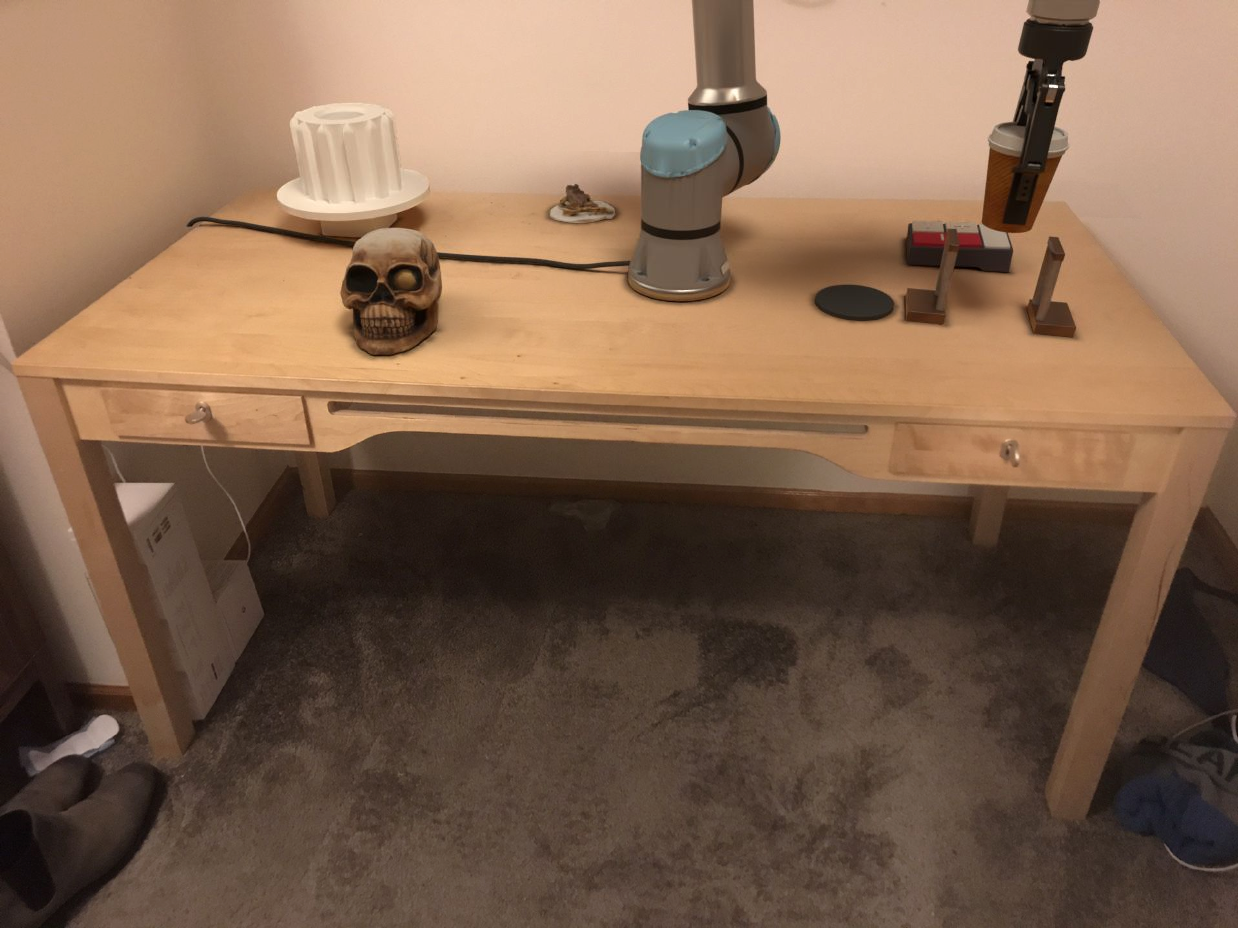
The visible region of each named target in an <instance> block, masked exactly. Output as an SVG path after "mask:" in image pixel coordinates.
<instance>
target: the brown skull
mask: <svg viewBox="0 0 1238 928" xmlns="http://www.w3.org/2000/svg"><path fill="white" fill-rule="evenodd" d="M355 242H356V243H355V245H354V247H353V248H352V254H351V259H350V261H349V263H348V265H347V266H346V269H345V273H344V277H343V279H342V281H341V282H342V283H341V287H340V292H339V293H340V298H341V303H342V305H343V306H344V308H345V309H347V310H352V333H353V337H354V339H355V342H356V345H357V346H358V347H359V348H360V349H362V350H364V351H366V352H367V353H368V354H369V355H373V356H389V355H394V354H398V353H403V352H406V351H409V350H411V349H413V348H414V347H416V346H417V345H419V344H420V343H421V342H422V341H423V340H424V339H426V338H428V337H429V336H430V334H431V333H434V332H435V331H436V330H437V326H438V322H439V310H438V309H439V308H438V301H439V300H440V299H441V296H442V293H443V290H442V289H443V281H442V279H443V278H442V271H441V264H440V257H438V254H437V252H438V251H437V249H436V247H435V244H434V243H433V241H432V240H431V239H430V238H429V237H427V236H426V235H425V234H423V233H422V232H420V231H417V230H415V229H412V228H404V227H389V228H382V229H378V230H375V231H372V232H370V233H368V234H366V235H364V236H363V237H362V238H359V239H358V240H357V241H355Z"/></svg>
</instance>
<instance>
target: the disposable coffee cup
mask: <svg viewBox="0 0 1238 928" xmlns="http://www.w3.org/2000/svg"><path fill="white" fill-rule="evenodd" d="M1025 128H1026V126H1017V122H1013V121H1007V122H1001V123H998V124H996V125H994V127H993V129H992V131H991V133H990V134H989V135H988V136H987V142H988V147H989V149H988V150H989V151H988V160H987V168H986V169H987V170H986V179H985V187H984V197H983V207H982V214H981V224H983V225H984V226H986V227H987V228H990V229H993V230H995V231H999V232H1005V233H1008V234H1022V233H1023V234H1024V233H1027V232H1030V231H1031V230H1032V229H1033V228H1034V224H1035V222H1036V220H1037V218H1038V215H1039V212H1040V210H1041V208H1042V205H1043V203H1044V201H1045V198H1046V196H1047V194H1048V191H1049V189H1050V187H1051V183H1052V181H1053V179H1054V176H1055V174H1056V172H1057V169H1058V167H1059V165H1060V162H1061V160H1062V158H1063V156H1064V155H1065V153H1066V151H1068V150H1069V148H1070V143H1069V139H1068V138H1069V133H1068V131H1066V130H1064V129H1063V128H1060V127H1057V126H1055V127H1054V131H1053V135H1052V140H1051V144H1050V148H1049V152H1048V156H1047V161H1046V165H1045V166H1046V168H1045V171H1044V173H1040V174H1039V176H1038V180H1037V184H1036V188H1035V191H1034V195H1033V199H1032V202H1031V206H1030V210H1029V213H1028V217H1027V221H1026V224H1025V225H1014V224H1003V223H1002V220H1003V216H1004V212H1005V208H1006V204H1007V200H1008V196H1009V192H1010V188H1011V184H1012V180H1013V176H1014V173H1013V172H1011V168H1012V167H1018V165H1019V161H1020V156H1021V152H1022V148H1023V143H1024V133H1025ZM1030 162H1037V161H1030Z"/></svg>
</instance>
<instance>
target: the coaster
mask: <svg viewBox="0 0 1238 928" xmlns="http://www.w3.org/2000/svg"><path fill="white" fill-rule="evenodd" d="M814 303H815V305H816V307H817V308H818V309H820V311H822V312H824V313H825V314H827V315H830V316H832V317H835V318H839V319H843V320H848V321H849V320H850V321H873V320H879V319H882V318H885V317H887V316H889V315H890V314H891V313H892V312H893V310H894V306H895V302H894V300H893V298H892V297H891V296H890V295H889V294H887V293H886V292H884V291H882V290H880V289H877V288H874V287H871V286H867V285H859V284H849V283H847V284H845V283H844V284H835V285H830V286H829V285H828V286H826V287H824V288H822V289H820V290H819V291H818V292H817V293H816V294H815V298H814Z"/></svg>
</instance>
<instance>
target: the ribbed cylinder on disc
mask: <svg viewBox="0 0 1238 928" xmlns="http://www.w3.org/2000/svg"><path fill="white" fill-rule="evenodd" d="M289 130H290V135H291V139H292V145H293V149H294V154H295V158H296V163H297V168H298V173H299V177H296V178H294V179H291V180H289V181H288V182H286V183H285V184H283V185H282V186H281V187H280V188H279V189H278V190H277V192H276V199H277V204H278V206H279V208H280V209H281V210H282V211H283V212H284V213H286V214H288V215H290V216H293V217H297V218H301V219H307V220H313V221H319V225H320V228H321V234H322V235H323V236H324V237H339V238H340V237H341V238H342V237H343V238H359V239H361V238H362V237H363V236H364V235H366V234H368V233H370V232H372V231H375V230H378V229H382V228H391V226H392V225H393V224H394V223H395V222H396V221H397V220H398V213H400V212H403V211H407V210H410V209H411V208H414V207H416V206H418V205H420V204H421V203H423V202H424V201H425V200H426V199H427V198H428V197H429V196H430V193H431V187H430V180H429V179H428V177H426V176H425V174H422V173H421V172H418V171H416V170H412V169H409V168H403V167H402V162H401V161H402V160H401V155H400V148H399V147H400V146H399V141H398V134H397V133H398V132H397V127H396V120H395V116H394V113H393V112H392V111H391V110H390V109H389V108H384V107H383V106H382V105H381V104H379V103H376V104H373V103H368V102H367V103H365V102H361V101H357V102H334V103H327V104H321V105H312V106H311V107H308V108H306V109H304V110H301V111H299V110H298V111H296V112H295V113H294V115H293V117H291V119H290V120H289Z"/></svg>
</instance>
